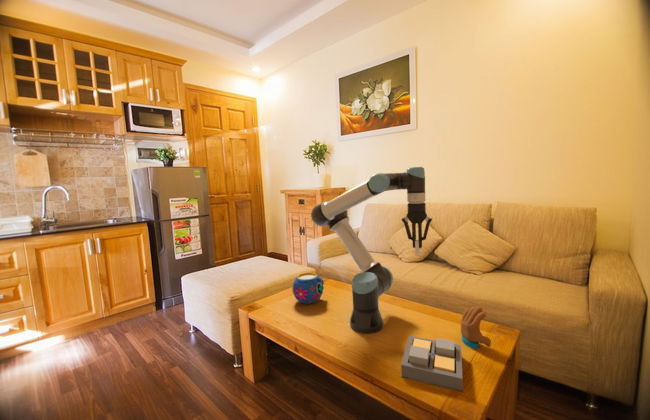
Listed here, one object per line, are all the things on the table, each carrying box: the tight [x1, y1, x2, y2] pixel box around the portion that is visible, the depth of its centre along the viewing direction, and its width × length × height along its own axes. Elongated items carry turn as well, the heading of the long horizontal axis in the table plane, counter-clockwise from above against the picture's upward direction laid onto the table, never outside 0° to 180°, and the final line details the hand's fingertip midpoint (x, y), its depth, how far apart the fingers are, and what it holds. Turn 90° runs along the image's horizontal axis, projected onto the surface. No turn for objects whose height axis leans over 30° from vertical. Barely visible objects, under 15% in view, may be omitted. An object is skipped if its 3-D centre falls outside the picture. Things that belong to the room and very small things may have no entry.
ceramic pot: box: [291, 272, 325, 304], centre depth 156 cm, size 18×18×15 cm
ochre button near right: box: [434, 355, 454, 373], centre depth 92 cm, size 6×6×4 cm
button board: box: [400, 335, 464, 393], centre depth 97 cm, size 18×18×4 cm
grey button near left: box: [409, 345, 429, 367], centre depth 95 cm, size 6×6×4 cm
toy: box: [460, 306, 492, 350], centre depth 108 cm, size 12×7×15 cm, turn 5°
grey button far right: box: [435, 337, 455, 358], centre depth 99 cm, size 6×6×4 cm
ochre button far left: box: [413, 338, 431, 353], centre depth 102 cm, size 6×6×4 cm
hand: (417, 254), depth 123 cm, fingers closed
